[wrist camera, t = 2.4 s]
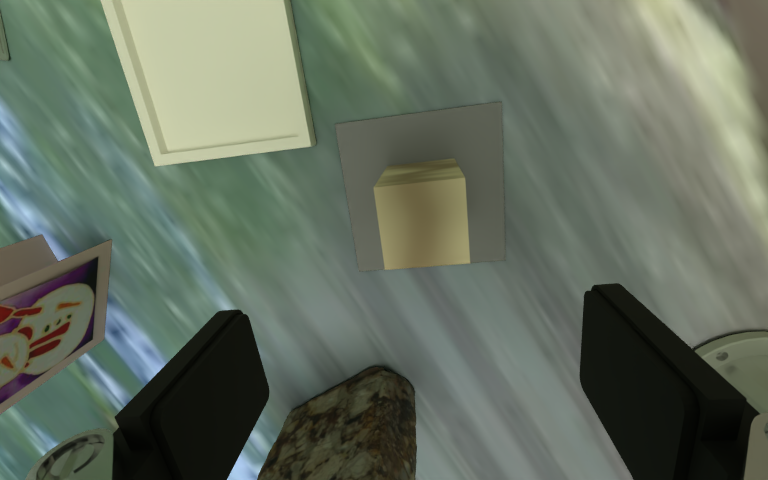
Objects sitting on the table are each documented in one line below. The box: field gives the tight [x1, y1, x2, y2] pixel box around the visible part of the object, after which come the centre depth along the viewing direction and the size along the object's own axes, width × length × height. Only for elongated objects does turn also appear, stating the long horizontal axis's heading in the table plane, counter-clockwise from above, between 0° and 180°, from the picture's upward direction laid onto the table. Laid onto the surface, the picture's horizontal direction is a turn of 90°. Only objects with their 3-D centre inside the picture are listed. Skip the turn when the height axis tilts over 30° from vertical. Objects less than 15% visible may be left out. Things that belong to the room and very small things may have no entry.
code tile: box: [335, 102, 506, 271], centre depth 29 cm, size 12×12×1 cm
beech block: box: [374, 158, 470, 270], centre depth 25 cm, size 5×5×8 cm
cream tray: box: [101, 0, 317, 166], centre depth 26 cm, size 13×13×2 cm
